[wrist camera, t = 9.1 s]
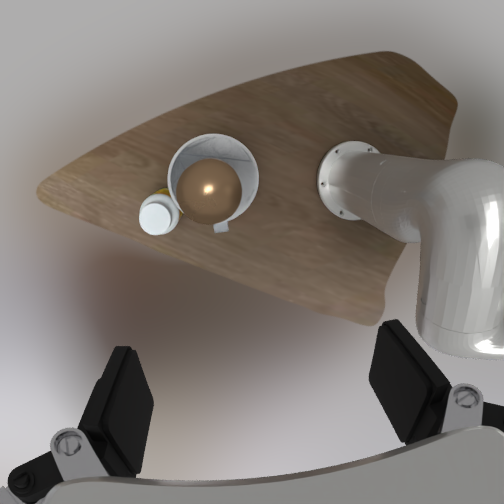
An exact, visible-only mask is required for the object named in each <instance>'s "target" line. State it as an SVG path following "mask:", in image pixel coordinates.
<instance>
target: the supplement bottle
mask: <svg viewBox="0 0 504 504" xmlns="http://www.w3.org/2000/svg"><path fill="white" fill-rule="evenodd" d="M182 214H183V212H182V211H181V210H180V209H179V208H178V207H177V206H176V204H175V203H174V201H173V199H172V197H171V195H170V192H169V188H162V189H160V190H158V191H156V192H155V193H153V194H152V195H151V196H149V197H148V198H147V199H146V200H145V201H144V202H143V203H142V205H141V208H140V216H139V221H140V225H141V227H142V228H143V230H144V231H146V232H147V233H149V234H151V235H159V234H165V233H168V232H170V231H171V230H173V229H174V228H175V226H176V225H177V223H178V221H179V219H180V218H181V216H182Z"/></svg>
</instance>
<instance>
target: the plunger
mask: <svg viewBox="0 0 504 504" xmlns="http://www.w3.org/2000/svg"><path fill="white" fill-rule="evenodd" d="M176 197H177V202H178V204H179V207H180V208H181V210H182V211H183V213H184V214H185V215H186V216H187V217H188V218H190V219H191V220H193V221H195V222H197V223H201V224H208V225H211V224H217V223H220V222H223V221H225V220H227V219H228V218H230V217H231V216H232V215H233V214H234V213H235V212H236V210H237V209H238V207H239V205H240V202H241V198H242V185H241V181H240V179H239V177H238V175H237V173H236V171H235V170H234V168H233V167H232V166H231V165H230V164H228V163H227V162H225V161H223V160H221V159H217V158H205V159H201V160H199V161H197V162H195V163H193V164H192V165H190V166H189V167H188V168H186V169H185V170H184V172H183V173H182V174H181V176H180V178H179V180H178V183H177V187H176Z"/></svg>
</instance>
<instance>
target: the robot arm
mask: <svg viewBox="0 0 504 504" xmlns="http://www.w3.org/2000/svg"><path fill="white" fill-rule="evenodd" d="M368 149H369V151H368ZM335 150H337V153H335ZM321 182H323V185H321ZM317 189H318V193H319V196H320V198H321V200H322V202H323V203H324V205H325V206H326V207H327V208H328V209H329V210H330V211H331V212H332V213H333V214H335V215H336V216H338V217H340V218H343V219H346V220H361V219H363V220H364V221H366V222H368V223H369V224H371V225H373V226H374V227H376V228H377V229H379V230H381V231H382V232H384V233H386V234H388V235H389V236H391V237H392V238H394V239H396V240H398V241H401V242H405V243H418V242H421V252H420V275H419V285H418V294H417V305H416V327H417V330H418V333H419V335H420V337H421V338H422V340H423V341H424V342H425V343H426V344H427V345H428V346H430V347H431V348H433V349H435V350H436V351H439V352H441V353H444V354H447V355H451V356H456V357H463V358H472V359H486V360H504V166H502V165H500V164H498V163H496V162H493V161H488V160H485V159H472V158H468V159H452V160H429V159H420V158H413V157H404V156H397V155H389V154H381V153H380V152H379V151H378V150H377V149H376V148H374V147H373V146H371V145H369V144H367V143H364V142H361V141H347V142H343V143H340V144H338V145H336V146H334V147H333V148H332V149H330V150H329V151H328V152H327V154H326V155H325V156H324V157H323V159H322V161H321V163H320V165H319V168H318V172H317ZM340 211H341V213H340ZM369 382H370V385H371V386H372V388H373V390H374V392H375V393H376V396H377V398H378V399H379V401H380V403H381V405H382V407H383V409H384V411H385V413H386V415H387V416H388V418H389V420H390V422H391V424H392V426H393V428H394V430H395V432H396V434H397V436H398V438H399V439H400V441H401V442H405V444H406V446H403V447H400V448H397V449H394V450H391V451H388V452H385V453H381V454H378V455H375V456H371V457H367V458H364V459H360V460H357V461H352V462H348V463H344V464H340V465H336V466H331V467H326V468H321V469H316V470H311V471H305V472H298V473H293V474H285V475H278V476H269V477H260V478H249V479H235V480H212V481H185V480H157V479H141V478H136V474H139V473H140V472H141V468H142V462H143V457H144V451H145V446H146V441H147V436H148V431H149V426H150V421H151V416H152V411H153V406H154V401H153V397H152V394H151V392H150V389H149V386H148V384H147V381H146V378H145V375H144V373H143V370H142V367H141V364H140V361H139V358H138V355H137V352H136V350H132V349H131V347H130V346H116V347H115V348H114V350H113V352H112V355H111V357H110V359H109V361H108V363H107V366H106V368H105V370H104V372H103V375H102V377H101V378H100V379H98V381H97V382H96V385H95V387H94V389H93V391H92V394H91V396H90V398H89V401H88V403H87V406H86V408H85V410H84V413H83V415H82V418H81V420H80V423H79V426H78V428H77V429H76V428H65V429H62V430H60V431H58V432H57V433H56V434H55V435H54V436H53V438H52V440H51V443H50V447H51V451H49V452H47V453H45V454H43V455H41V456H39V457H37V458H35V459H33V460H31V461H29V462H27V463H25V464H23V465H20V466H18V467H16V468H15V469H13V470H12V472H11V473H10V474H9V477H8V487H6V488H5V487H4V486H2V487H1V488H0V504H504V406H500V405H496V404H491V403H487V402H483V395H482V393H481V391H479V389H478V388H476V387H475V386H473V385H470V384H458V385H456V386H454V387H452V386H451V384H450V382H449V381H448V379H447V378H446V377H445V376H444V374H443V373H442V372H441V370H440V369H439V368H438V367H437V365H436V364H435V363H434V362H433V361H432V359H431V358H430V357H429V356H428V355H427V353H426V352H425V351H424V350H423V349H422V347H421V346H420V345H419V344H418V343H417V341H416V340H415V339H414V338H413V336H412V335H411V334H410V333H409V332H408V331H407V329H406V328H405V327H404V326H403V325H402V324H401V323H400V321H399V320H397V319H395V320H389V321H385V322H383V324H382V326H380V327H379V329H378V334H377V339H376V344H375V349H374V355H373V359H372V364H371V368H370V373H369Z"/></svg>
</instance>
